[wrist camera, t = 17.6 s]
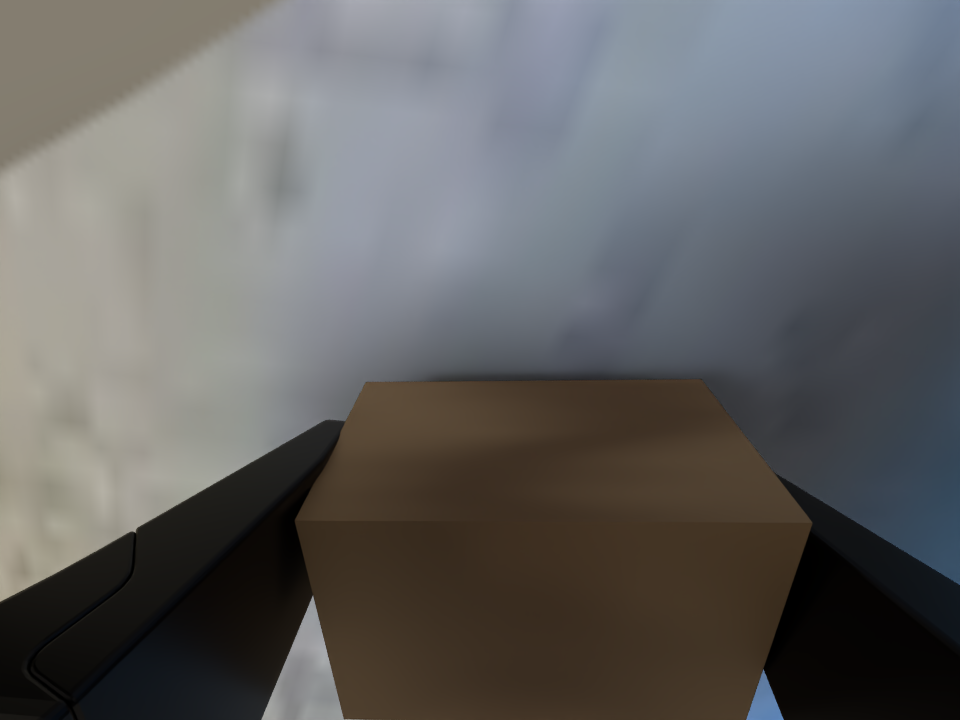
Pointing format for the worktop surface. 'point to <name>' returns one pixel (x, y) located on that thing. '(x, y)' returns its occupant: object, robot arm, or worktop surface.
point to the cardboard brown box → (547, 552)
